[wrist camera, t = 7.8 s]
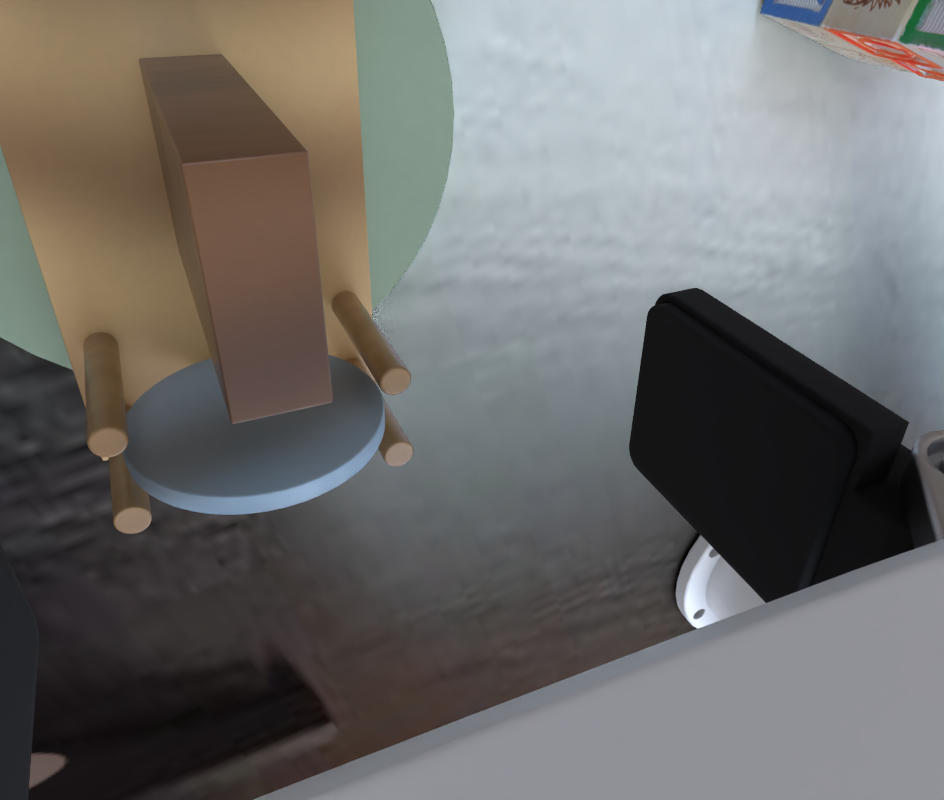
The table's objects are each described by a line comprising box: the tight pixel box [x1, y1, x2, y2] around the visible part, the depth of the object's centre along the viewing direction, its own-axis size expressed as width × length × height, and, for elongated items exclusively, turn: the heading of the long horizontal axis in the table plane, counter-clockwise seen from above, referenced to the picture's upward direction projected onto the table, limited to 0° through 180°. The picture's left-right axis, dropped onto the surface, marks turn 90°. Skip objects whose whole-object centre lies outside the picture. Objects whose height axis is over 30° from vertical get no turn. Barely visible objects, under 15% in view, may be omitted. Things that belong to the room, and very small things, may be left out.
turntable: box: [0, 0, 454, 370], centre depth 22 cm, size 16×16×1 cm
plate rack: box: [0, 0, 413, 534], centre depth 17 cm, size 18×9×10 cm, turn 178°
